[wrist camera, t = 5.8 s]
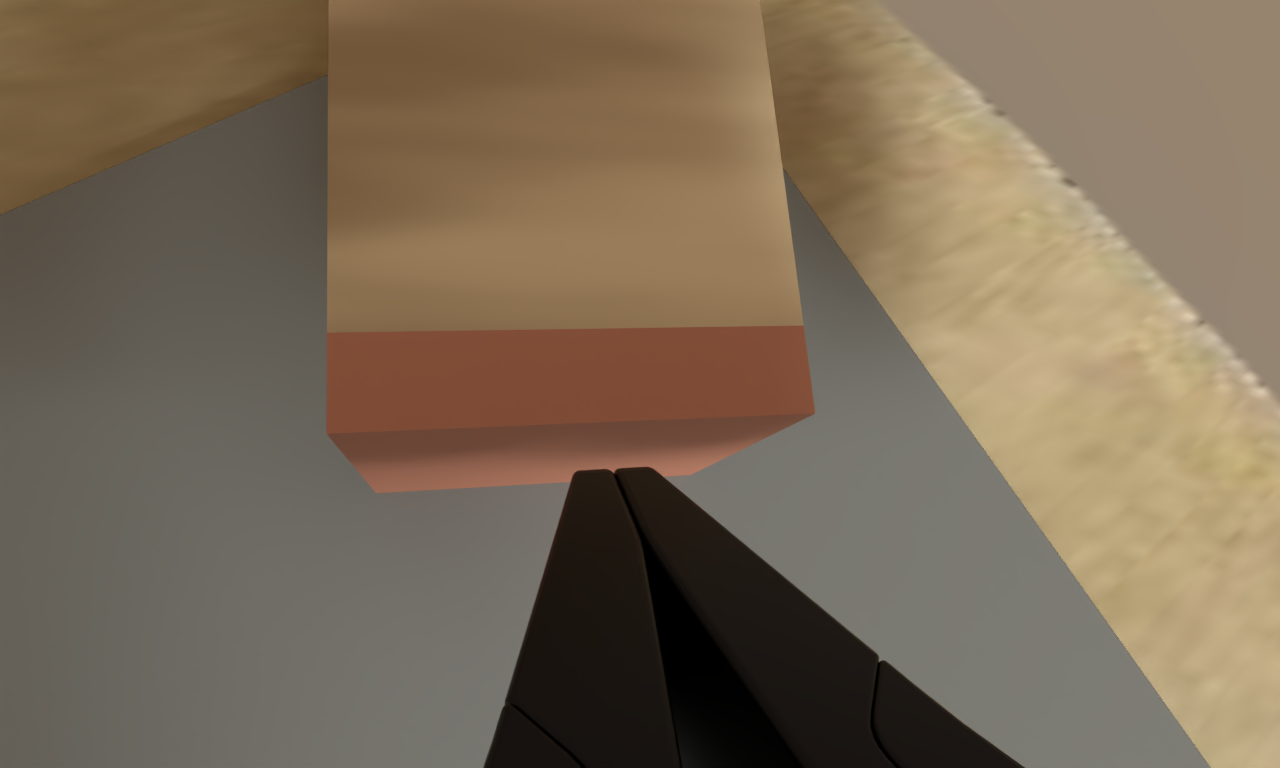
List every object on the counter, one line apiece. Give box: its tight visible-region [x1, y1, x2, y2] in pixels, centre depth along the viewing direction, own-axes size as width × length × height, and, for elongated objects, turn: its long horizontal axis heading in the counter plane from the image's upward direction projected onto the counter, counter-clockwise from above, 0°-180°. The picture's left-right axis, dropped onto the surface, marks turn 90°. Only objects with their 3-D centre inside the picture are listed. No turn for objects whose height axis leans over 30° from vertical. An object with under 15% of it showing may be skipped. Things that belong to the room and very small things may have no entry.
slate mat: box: [0, 75, 1210, 768], centre depth 15 cm, size 26×22×1 cm
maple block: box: [326, 0, 815, 493], centre depth 14 cm, size 6×6×12 cm
